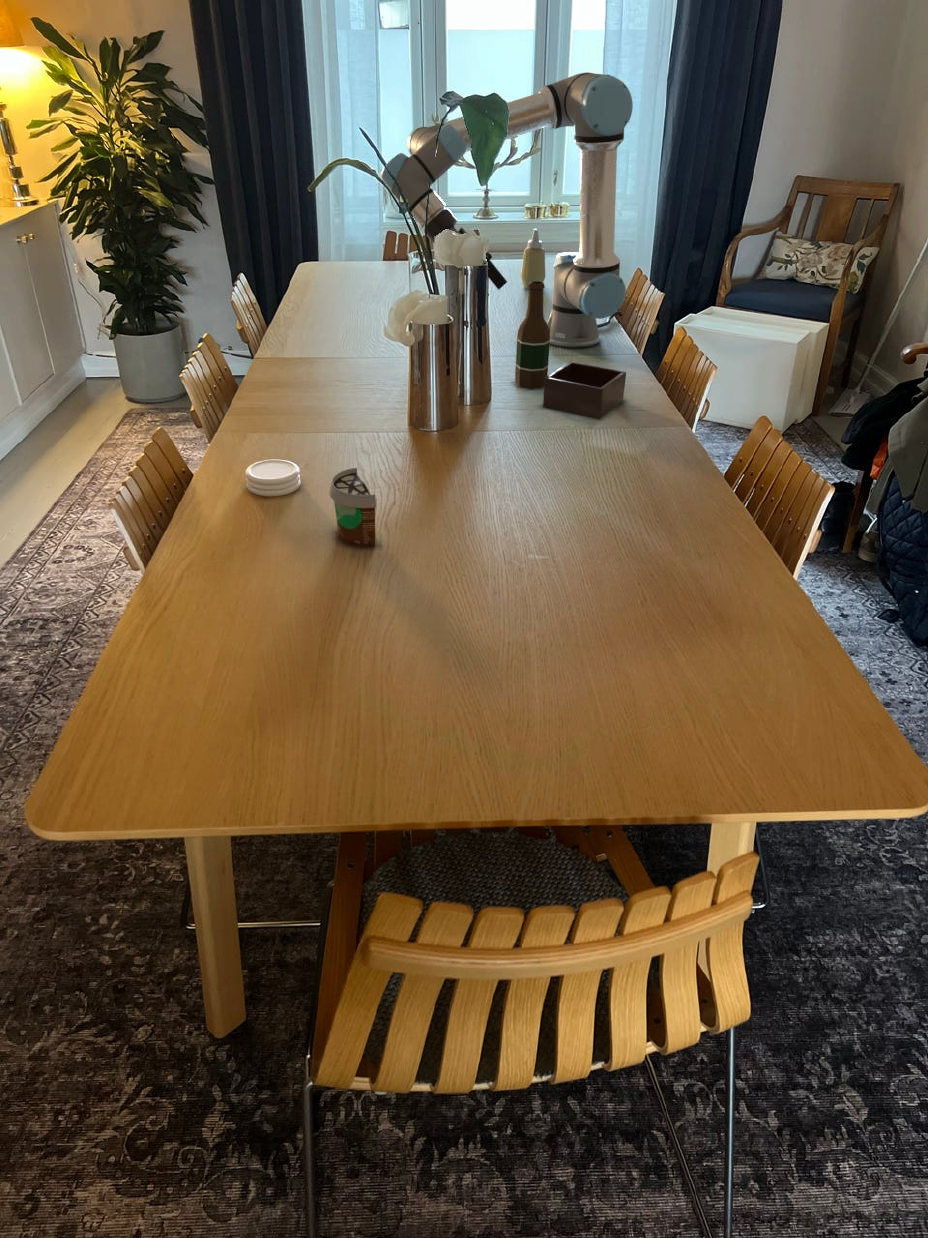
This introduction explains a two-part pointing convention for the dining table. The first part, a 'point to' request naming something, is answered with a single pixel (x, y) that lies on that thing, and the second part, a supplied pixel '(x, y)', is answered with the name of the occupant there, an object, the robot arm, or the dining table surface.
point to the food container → (353, 509)
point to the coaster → (272, 478)
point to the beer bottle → (533, 342)
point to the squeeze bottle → (533, 261)
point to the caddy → (584, 390)
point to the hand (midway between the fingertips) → (494, 292)
